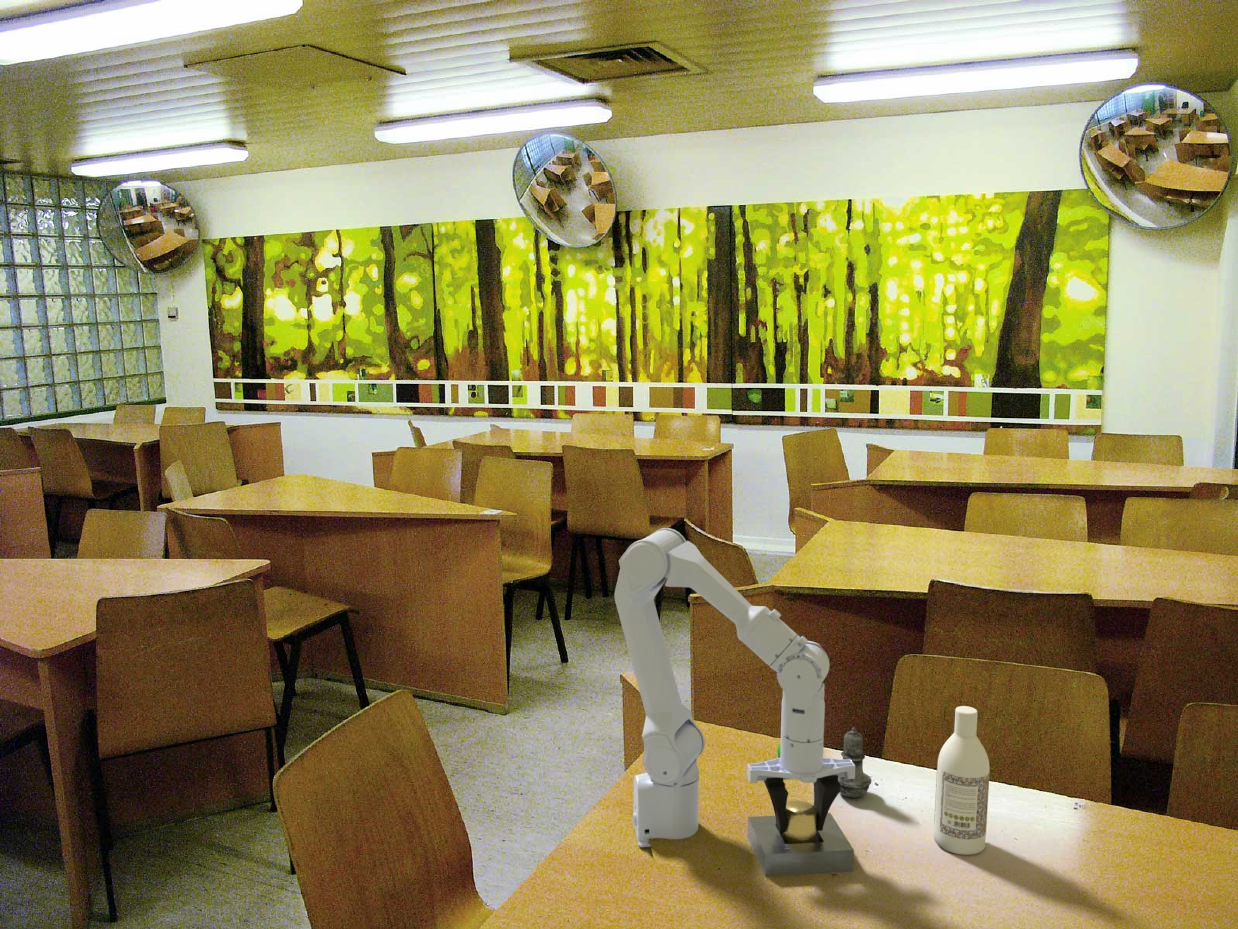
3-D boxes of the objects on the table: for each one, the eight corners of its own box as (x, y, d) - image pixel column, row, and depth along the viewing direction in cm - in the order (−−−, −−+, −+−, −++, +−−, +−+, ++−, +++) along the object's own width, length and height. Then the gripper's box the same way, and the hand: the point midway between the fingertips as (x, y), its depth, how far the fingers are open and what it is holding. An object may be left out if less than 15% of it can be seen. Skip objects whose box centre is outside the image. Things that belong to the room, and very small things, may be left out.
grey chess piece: (861, 813, 149) (864, 738, 147) (825, 801, 152) (827, 728, 151) (876, 798, 154) (879, 725, 152) (841, 787, 157) (844, 716, 155)
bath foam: (993, 856, 137) (1001, 719, 134) (943, 857, 137) (951, 720, 134) (973, 830, 144) (981, 699, 141) (926, 831, 144) (933, 700, 141)
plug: (786, 863, 133) (788, 818, 132) (777, 845, 138) (779, 801, 137) (819, 861, 134) (821, 816, 133) (810, 843, 138) (811, 800, 137)
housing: (764, 883, 130) (765, 854, 130) (747, 843, 140) (747, 817, 140) (852, 878, 132) (853, 850, 131) (829, 839, 141) (830, 813, 141)
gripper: (756, 748, 129) (754, 846, 131) (864, 744, 130) (860, 840, 132) (744, 726, 136) (742, 819, 138) (846, 722, 137) (843, 814, 139)
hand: (799, 828), depth 135 cm, fingers closed on plug, 5 cm apart
